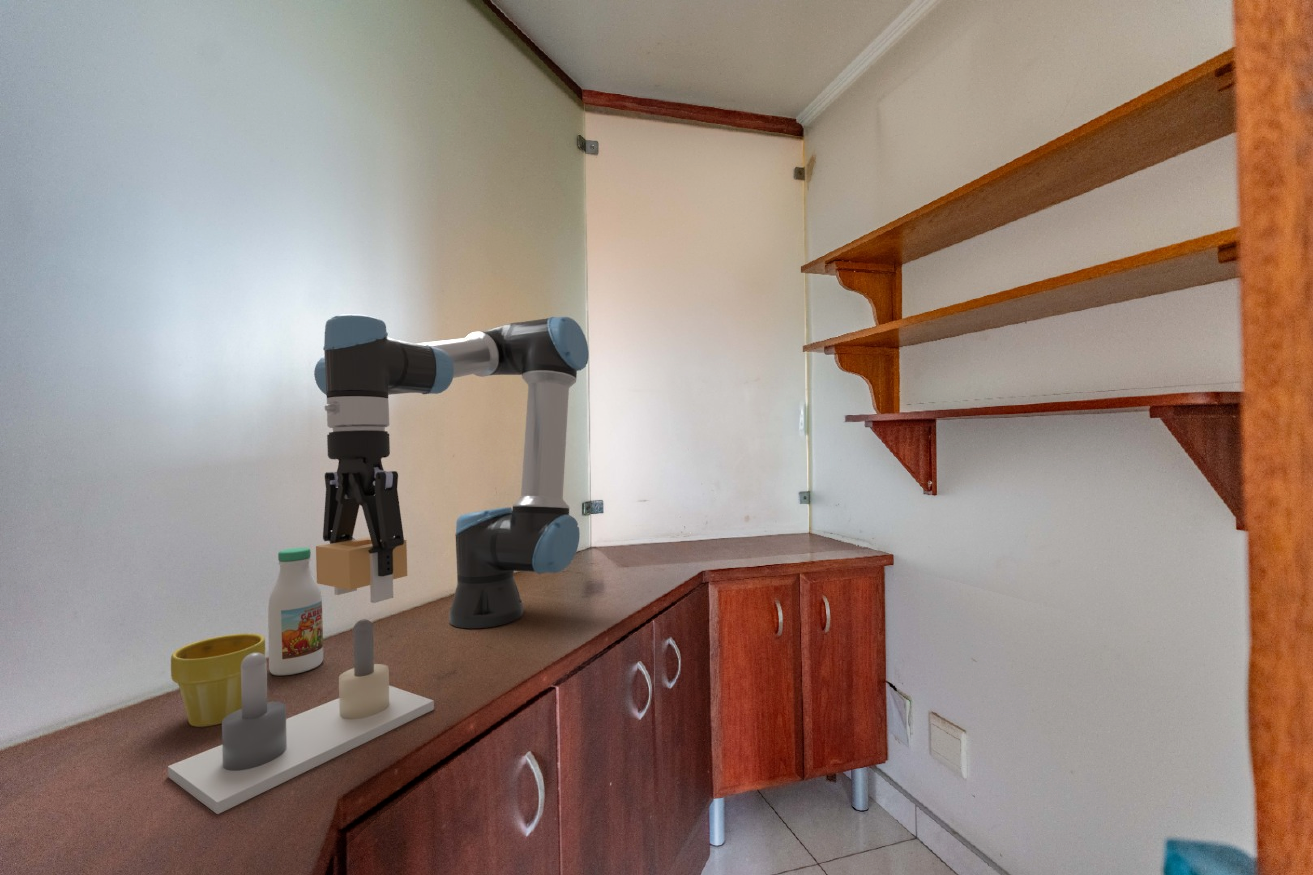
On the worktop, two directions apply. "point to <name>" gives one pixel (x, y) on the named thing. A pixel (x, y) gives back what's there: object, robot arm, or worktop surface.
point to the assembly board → (295, 729)
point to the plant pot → (213, 675)
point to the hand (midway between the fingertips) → (363, 595)
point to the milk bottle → (295, 616)
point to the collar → (353, 563)
